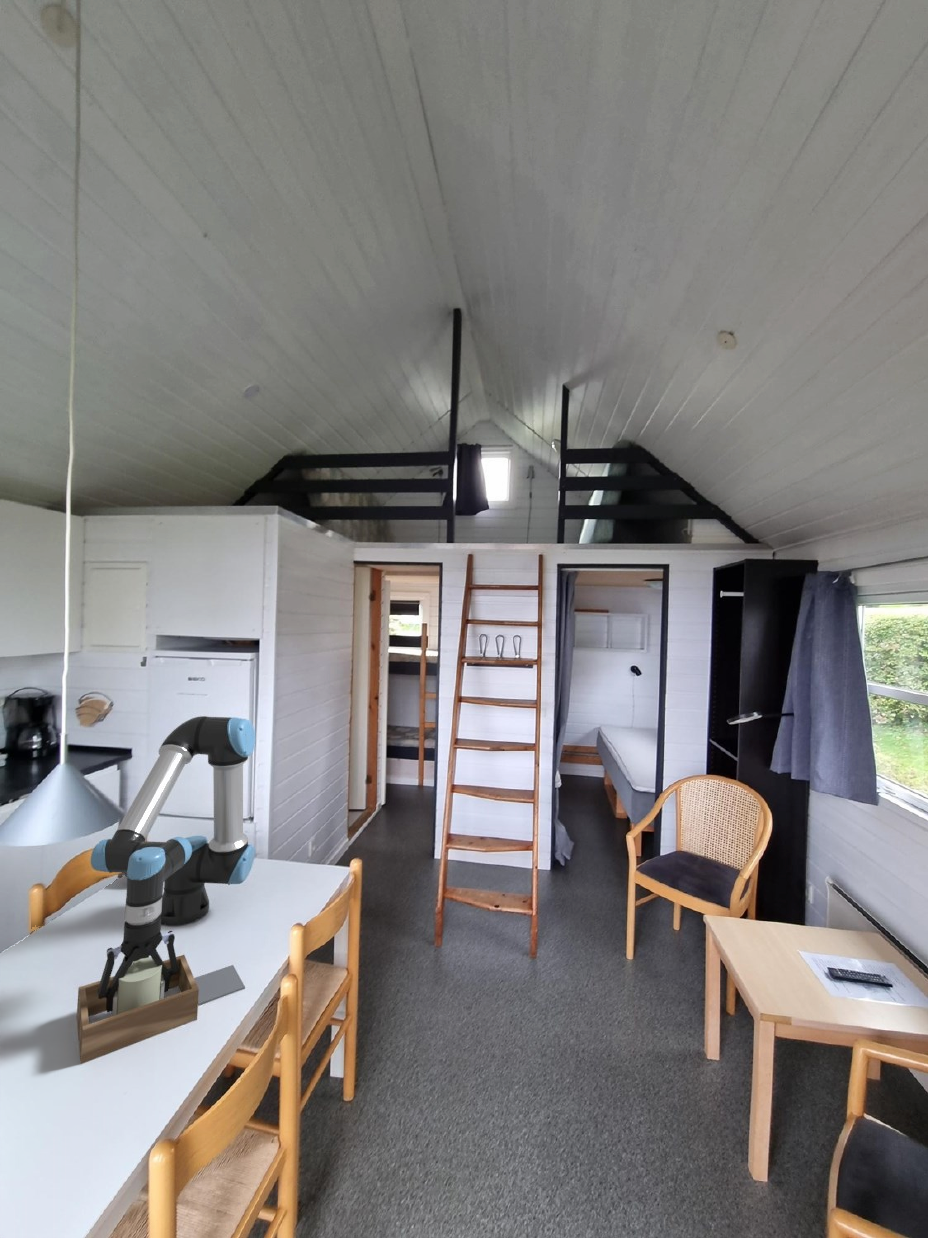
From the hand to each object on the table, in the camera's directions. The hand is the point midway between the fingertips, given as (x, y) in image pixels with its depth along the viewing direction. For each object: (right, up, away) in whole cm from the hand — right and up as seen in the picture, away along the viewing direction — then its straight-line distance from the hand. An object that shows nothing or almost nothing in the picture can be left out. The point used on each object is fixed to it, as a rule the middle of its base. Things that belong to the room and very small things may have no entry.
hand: (137, 1014), depth 125 cm
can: (0, -1, 0) cm, 1 cm away
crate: (0, -1, 0) cm, 1 cm away
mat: (+13, -2, +13) cm, 18 cm away
